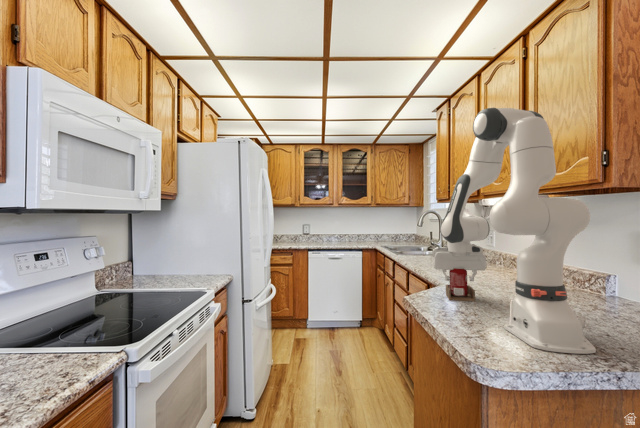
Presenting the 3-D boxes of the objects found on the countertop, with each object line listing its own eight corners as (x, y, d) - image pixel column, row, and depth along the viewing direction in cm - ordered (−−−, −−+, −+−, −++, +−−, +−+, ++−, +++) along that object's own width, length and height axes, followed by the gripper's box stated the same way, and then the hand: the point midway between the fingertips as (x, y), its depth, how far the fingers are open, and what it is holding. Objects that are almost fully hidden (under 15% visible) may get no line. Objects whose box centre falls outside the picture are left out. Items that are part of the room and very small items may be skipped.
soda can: (465, 298, 125) (465, 268, 125) (447, 296, 129) (447, 267, 129) (469, 295, 130) (468, 266, 131) (452, 293, 135) (451, 265, 135)
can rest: (475, 301, 124) (474, 290, 124) (449, 300, 126) (448, 289, 126) (469, 295, 133) (469, 285, 133) (445, 294, 136) (445, 284, 136)
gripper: (433, 247, 129) (433, 281, 129) (487, 248, 124) (488, 283, 124) (431, 246, 136) (432, 278, 135) (483, 246, 131) (483, 279, 130)
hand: (459, 280), depth 130 cm, fingers open, 8 cm apart
